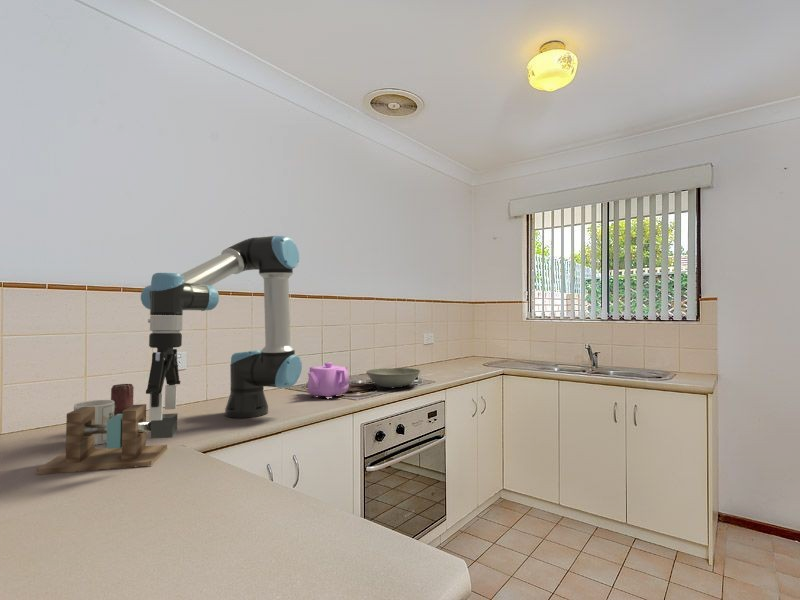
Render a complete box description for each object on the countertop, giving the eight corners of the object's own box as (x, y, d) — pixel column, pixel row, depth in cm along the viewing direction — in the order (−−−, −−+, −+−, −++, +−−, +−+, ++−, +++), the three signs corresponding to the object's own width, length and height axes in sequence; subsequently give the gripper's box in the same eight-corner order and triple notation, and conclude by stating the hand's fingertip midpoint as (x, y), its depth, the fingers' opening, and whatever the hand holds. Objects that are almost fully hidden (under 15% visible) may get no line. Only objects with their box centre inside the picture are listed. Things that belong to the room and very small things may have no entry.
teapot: (307, 401, 188) (308, 365, 188) (305, 393, 206) (305, 360, 206) (352, 399, 193) (353, 364, 193) (346, 391, 211) (347, 360, 211)
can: (122, 431, 140) (123, 386, 140) (105, 430, 141) (106, 385, 141) (137, 426, 146) (138, 383, 146) (121, 425, 147) (122, 383, 147)
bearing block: (167, 449, 122) (167, 401, 122) (151, 466, 108) (152, 412, 109) (66, 455, 116) (67, 405, 116) (36, 474, 102) (37, 417, 103)
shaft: (177, 432, 118) (177, 413, 118) (172, 437, 113) (172, 417, 114) (87, 437, 113) (87, 417, 114) (78, 442, 109) (78, 422, 109)
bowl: (425, 383, 235) (425, 368, 235) (412, 393, 208) (412, 375, 208) (377, 381, 242) (377, 366, 243) (358, 390, 216) (358, 372, 216)
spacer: (130, 440, 117) (130, 413, 117) (120, 448, 110) (120, 419, 110) (117, 440, 116) (118, 413, 116) (106, 448, 109) (107, 420, 109)
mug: (123, 438, 132) (124, 401, 132) (83, 450, 121) (84, 409, 121) (98, 435, 135) (98, 398, 136) (56, 446, 124) (57, 406, 124)
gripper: (163, 330, 127) (161, 405, 126) (133, 333, 103) (130, 426, 102) (191, 330, 129) (189, 404, 128) (168, 333, 105) (166, 424, 104)
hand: (163, 414), depth 115 cm, fingers open, 13 cm apart
